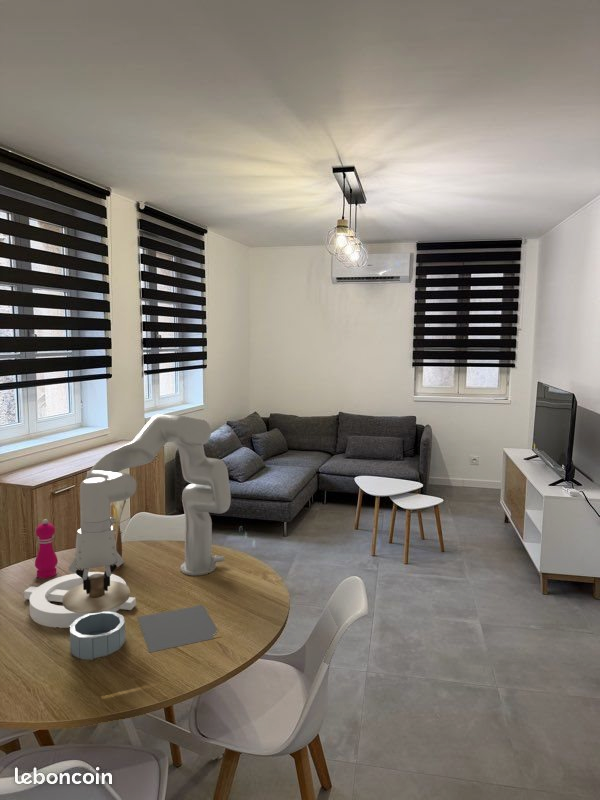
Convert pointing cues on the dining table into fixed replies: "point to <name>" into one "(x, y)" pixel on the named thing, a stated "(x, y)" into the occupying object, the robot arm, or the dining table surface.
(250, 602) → the dining table surface
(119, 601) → the lid
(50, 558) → the pepper mill
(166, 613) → the mat
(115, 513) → the pancake mix bag
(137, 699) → the dining table surface
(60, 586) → the ring with crossbar
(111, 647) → the bowl
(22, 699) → the dining table surface
